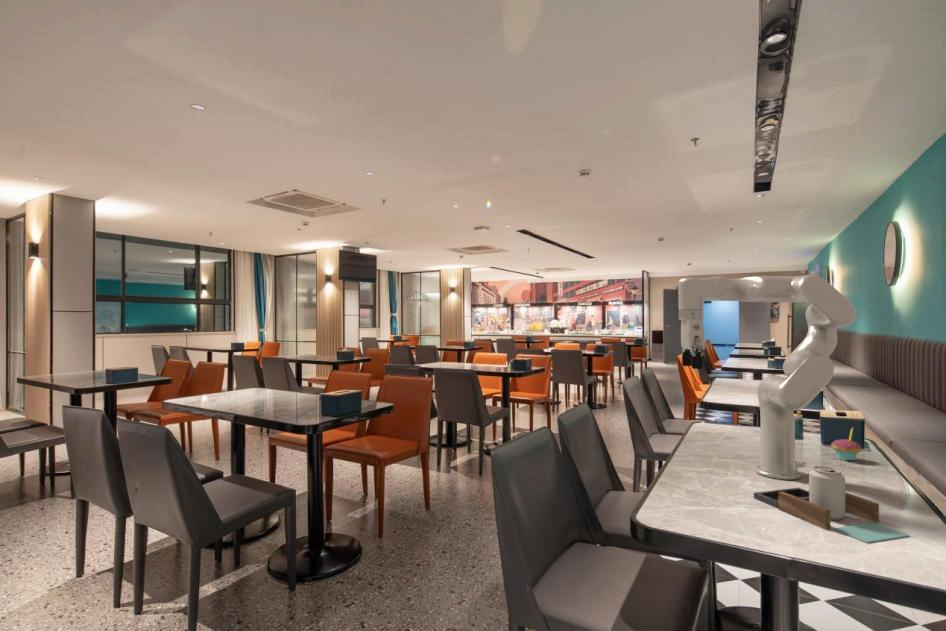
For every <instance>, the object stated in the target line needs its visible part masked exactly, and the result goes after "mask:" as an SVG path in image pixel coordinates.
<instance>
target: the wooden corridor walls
mask: <svg viewBox="0 0 946 631" xmlns="http://www.w3.org/2000/svg"><path fill="white" fill-rule="evenodd" d="M778 510H779V511H781V512H784V513H786V514H788V515H791V516H793V517H796V518H798V519H799V520H802V521H805V522H807V523H809V524H812V525H814V526H816V527H819V528H821V529H824V530H826V531H827V530H831V520H830V510H829V509H826V508H824V507H821V506H819V505H816V504H813V503H811V502H808V501H806V500H803V499H800V498H798V497H795V496H793V495H790V494H787V493H785V492H778ZM845 513H847V514H850V515H853V516H856V517H858V518H862V519H864V520H866V521H870V522H871V523H874V522H876V523H879V522H880V505H879V503H878V502H875V501H872V500H869V499H866V498H863V497H860V496H857V495H855V494H852V493H848V492H846V491H845Z"/></svg>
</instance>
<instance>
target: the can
mask: <svg viewBox="0 0 946 631" xmlns="http://www.w3.org/2000/svg"><path fill="white" fill-rule="evenodd" d="M808 491H809V502H811V503H813V504H816V505H819V506H821V507H824V508H826V509H829V510H830V521H841V520H842V519H843V518H845V517H846V512H845V492H846V477H845V476H844V475H843V471H842V470H841V469H839V468H836V467H832V466H827V465H826V466H825V465H813V466H812V467H811V470H810V471H809V472H808Z"/></svg>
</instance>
